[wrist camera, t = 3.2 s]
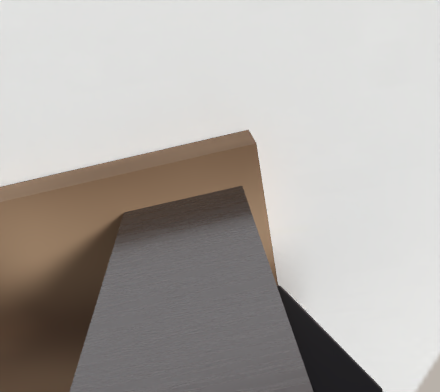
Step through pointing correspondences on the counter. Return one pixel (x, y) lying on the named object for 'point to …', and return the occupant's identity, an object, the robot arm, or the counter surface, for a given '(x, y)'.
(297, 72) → the counter surface
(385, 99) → the counter surface
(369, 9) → the counter surface
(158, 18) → the counter surface
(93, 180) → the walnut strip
